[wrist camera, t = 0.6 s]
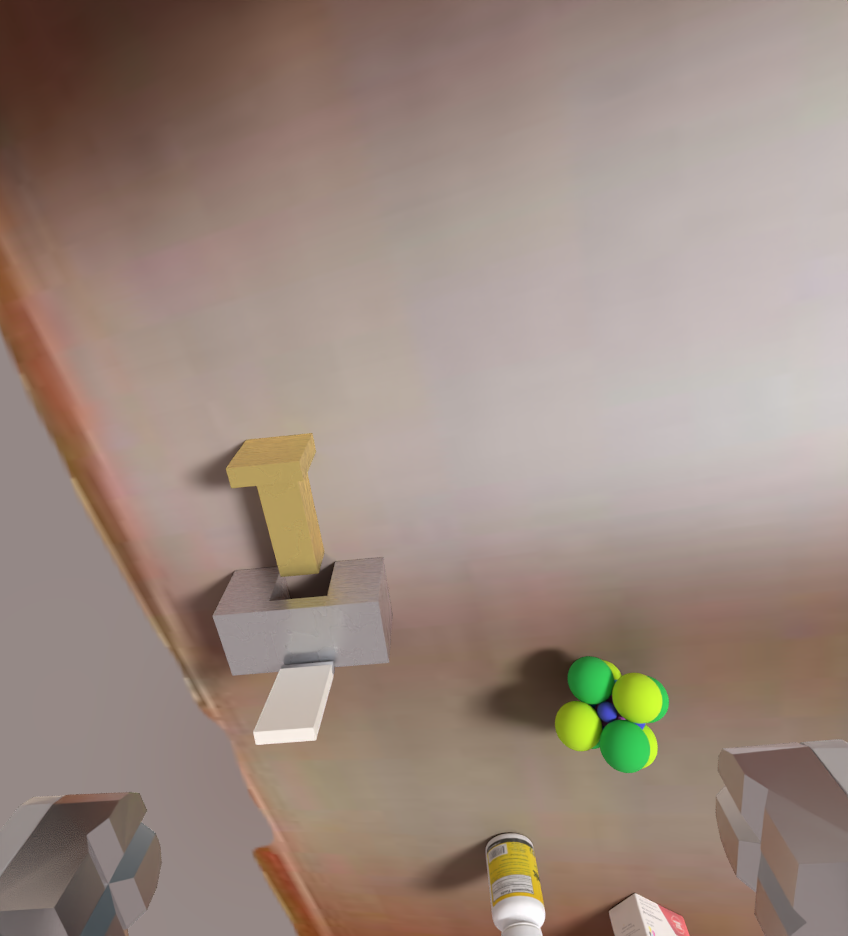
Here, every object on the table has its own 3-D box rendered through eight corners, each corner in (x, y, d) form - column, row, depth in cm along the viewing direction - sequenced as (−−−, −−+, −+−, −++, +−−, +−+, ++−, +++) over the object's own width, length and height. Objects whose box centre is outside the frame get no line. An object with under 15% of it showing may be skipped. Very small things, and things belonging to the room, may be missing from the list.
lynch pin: (246, 439, 43) (225, 468, 38) (312, 432, 43) (299, 461, 38) (276, 556, 47) (261, 594, 43) (336, 550, 47) (327, 588, 43)
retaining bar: (282, 662, 45) (253, 732, 37) (333, 658, 45) (313, 727, 37) (285, 673, 45) (255, 744, 38) (335, 669, 45) (316, 740, 37)
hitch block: (235, 570, 48) (212, 615, 43) (383, 557, 47) (378, 601, 42) (252, 626, 50) (232, 675, 45) (392, 614, 50) (389, 662, 45)
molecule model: (676, 685, 50) (663, 682, 44) (654, 775, 48) (638, 784, 42) (591, 655, 54) (569, 648, 48) (569, 736, 52) (543, 740, 46)
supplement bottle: (528, 862, 65) (544, 966, 57) (481, 859, 65) (490, 963, 56) (537, 832, 63) (556, 936, 54) (489, 829, 63) (500, 933, 54)
